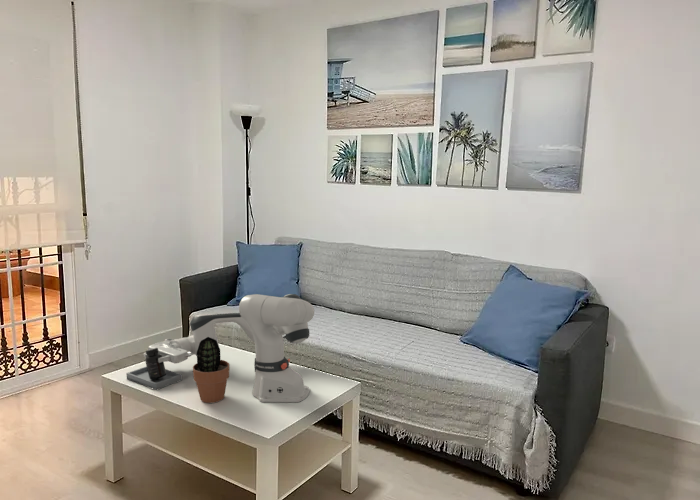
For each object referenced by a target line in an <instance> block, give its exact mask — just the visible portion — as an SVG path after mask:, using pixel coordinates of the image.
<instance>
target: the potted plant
mask: <svg viewBox="0 0 700 500" xmlns="http://www.w3.org/2000/svg"><path fill="white" fill-rule="evenodd" d="M218 344H219V342H218V343H217V341H216V340H214V339H212V338H210V337H207V338H205V339H203V340H201V342H200V344H199V347H198V350H197V356H196V363H195V364H194V365H193V366H192V375H193V381H194V382H195V383H196V387H197V391H198V394H199V395H198V396H199V399H200V401H201V402H202V403H207V404H212V403H214V404H215V403H218V402H221V401H222V400H224V398H225V395H226V389H227V388H226V387H227V383H228V379H229V378H230V362H228V361H226V360H223V359H221V348H220V345H218Z"/></svg>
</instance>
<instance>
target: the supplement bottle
mask: <svg viewBox="0 0 700 500" xmlns="http://www.w3.org/2000/svg"><path fill="white" fill-rule="evenodd" d="M158 352H159V351H158V348H153V349H150V350H148V349H147V350H145V353H146V355H147V357H146V358H144V359H145V360H144V361H145V365H146V366H147V370H148V375H149V378H150V380H153V379H158V378H161V377H164V376H165V375H166V370H165V369H166V366H165V363H164V362H160V363H159V362H158V360H157V359H158V358H159V357H162V355H161V354H159V353H158ZM146 366H145V367H146Z"/></svg>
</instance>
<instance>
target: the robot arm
mask: <svg viewBox="0 0 700 500" xmlns="http://www.w3.org/2000/svg"><path fill="white" fill-rule="evenodd" d="M314 316H315V308H314V306H313V304H312V303H310V302H309V301H307V300H304V299H302V298H301V297H300V296H299V295H298V294H296V293H289V294H285V295H284V296H281V297H280V296H272V295H266V294H257V293H253V294H247V295H245V296H243V297H242V298H241V300H240V302H239V304H238V312H232V313H231V312H229V313H215V314H211V313H210V314H209V313H200V314H196V315H194V316H193V317H192V319H191V320H190V322H189V327H190V329H191V332H192V334H191V335H189V336H187V337H186V336H185V337H181V338H165V339H164V341H158V342H155V343H153V344H150V345H148V347H147V350H150V349H153V348H158V351H159V352H158V353H159V354H161V355H162V357H159V358H158V359H157V360H158V362H159V363H160V362H170V363H173V364H180V363H182V362H184V361H187V360H188V359H189V358H190V357H192V356H193V355H194V356H196V357H197V350H198V347H199V344H200V342H201V340H203V339H205V338H207V337H210V338H212V339H214V340H216V341H217V343H218V345H219V340H218V336H217V331H216V327H215V325H216V324H223V323H225V324H226V323H234V324H237V325H238V326H239V327H240V329H241V330H242V331H243V333H244V334H245V336H246V337H247V338H248V340H250V341H251V342H253V343H254V347H255V348H254V349H255V351H254V352H255V358H254V363H253V365H254V373H255V375H254V383H253V388H252V392H251V394H252V396H254V398H257V399H258V401H259V402H260V403H261V402H262V403H299V402H302V401H304V400H306V398H307V397H308V396H309V394H310V393H311V392H310V388H309V386H308V385H305V383H304V379H303V376H302V374H300V373H299V372H297V371H296V370H294V369H293V368H292V367H290V362H291V359H290V358H288V359H287V358H286V356H285V342H284V341H285V340H286V341H288V342H289V343H291V344H300V343H303V342H305V341H306V340H307V339H309V337H310V328H309V325H308V323H309V322H311V321H312V320H313V319H314ZM219 346H220V345H219ZM146 357H147V355H146V352H144V353H143V358H144V359H146Z"/></svg>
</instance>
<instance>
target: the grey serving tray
mask: <svg viewBox="0 0 700 500" xmlns="http://www.w3.org/2000/svg"><path fill="white" fill-rule="evenodd" d="M165 370H166V375H165V376H164V377H161V378H158V379H153V380H150V378H149V375H148V370H147V366H143V367H141V368H138V369H134V370H132V371H129V372H126V379H127V380H128V381H132V382H133V383H136V382H137V383H136V384H139V385H142V386H144V387H148V388H150V389H152V388H153V390H154V391H155V390H156V391H157V389H158V390H160V389H162V388H165V387H167V386H170V385H172V384H175V383H178V382H182V380H183V379H182V378H183V377H182V374H181V373H178V372H175V371H173V370H169V369H167V368H165Z"/></svg>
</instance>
